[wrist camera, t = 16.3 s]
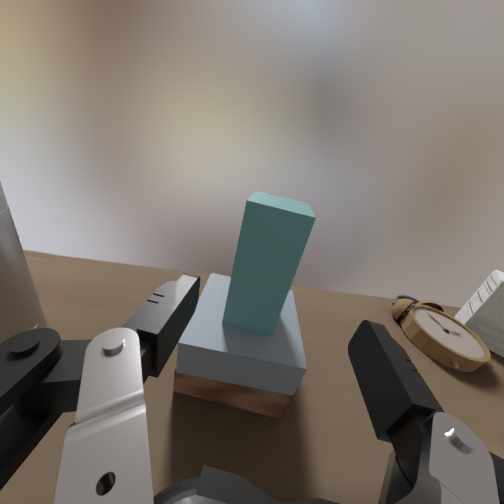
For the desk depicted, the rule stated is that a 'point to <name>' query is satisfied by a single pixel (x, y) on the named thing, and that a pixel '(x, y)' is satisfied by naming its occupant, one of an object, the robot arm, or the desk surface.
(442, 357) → the alarm clock
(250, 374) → the tower top
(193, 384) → the block
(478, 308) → the supplement box
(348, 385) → the desk surface
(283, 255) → the teal block
